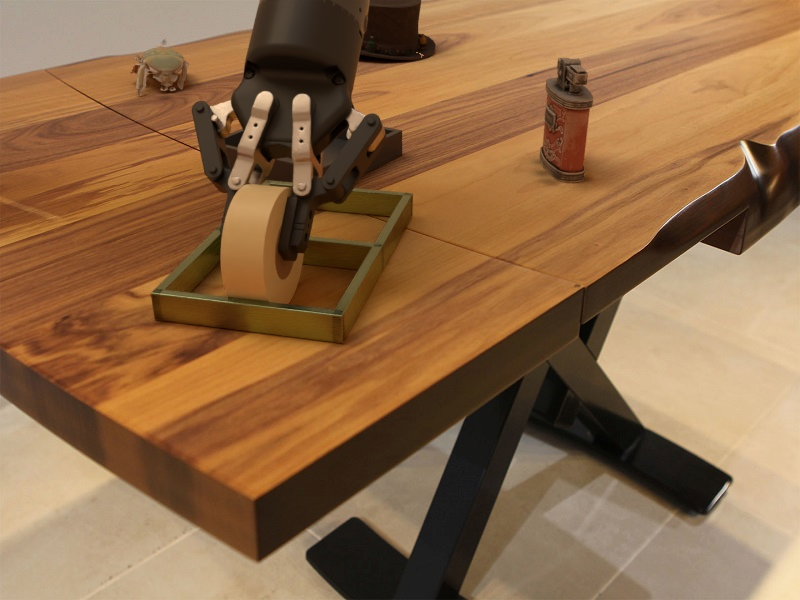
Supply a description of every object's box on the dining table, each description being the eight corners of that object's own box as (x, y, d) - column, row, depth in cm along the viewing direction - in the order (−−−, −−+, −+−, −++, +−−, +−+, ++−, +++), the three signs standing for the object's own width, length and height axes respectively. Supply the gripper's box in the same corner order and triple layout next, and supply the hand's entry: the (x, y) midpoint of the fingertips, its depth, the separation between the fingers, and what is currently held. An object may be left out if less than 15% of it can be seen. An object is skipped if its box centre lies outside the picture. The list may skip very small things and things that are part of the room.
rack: (154, 320, 55) (150, 292, 55) (267, 201, 73) (265, 179, 72) (342, 343, 53) (342, 315, 52) (412, 215, 71) (413, 192, 70)
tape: (235, 330, 56) (208, 239, 51) (273, 249, 62) (253, 158, 56) (277, 335, 56) (255, 243, 50) (312, 253, 61) (295, 162, 55)
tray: (208, 167, 80) (205, 142, 79) (296, 131, 90) (295, 108, 89) (320, 197, 74) (319, 169, 73) (402, 154, 84) (402, 130, 83)
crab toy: (96, 82, 103) (100, 40, 101) (155, 78, 113) (159, 40, 111) (155, 102, 101) (160, 59, 99) (210, 96, 110) (215, 57, 108)
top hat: (379, 35, 133) (379, -37, 128) (456, 50, 124) (459, -27, 119) (309, 51, 123) (305, -26, 118) (387, 68, 114) (386, -14, 109)
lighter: (533, 153, 84) (541, 50, 80) (566, 152, 85) (577, 49, 80) (555, 183, 77) (565, 72, 73) (591, 181, 78) (604, 71, 73)
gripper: (197, -16, 58) (134, 222, 53) (400, -8, 55) (353, 244, 50) (234, 47, 65) (182, 262, 60) (416, 58, 62) (376, 284, 57)
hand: (261, 253), depth 55 cm, fingers closed on tape, 3 cm apart
